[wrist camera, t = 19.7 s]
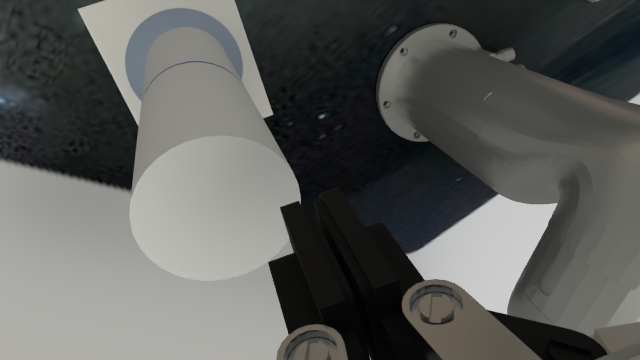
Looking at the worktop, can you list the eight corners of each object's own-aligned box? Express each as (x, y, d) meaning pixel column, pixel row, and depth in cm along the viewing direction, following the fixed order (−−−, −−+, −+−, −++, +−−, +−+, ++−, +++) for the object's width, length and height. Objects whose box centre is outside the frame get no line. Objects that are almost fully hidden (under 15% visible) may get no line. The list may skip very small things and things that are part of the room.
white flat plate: (221, -37, 38) (222, -37, 37) (272, 113, 45) (273, 114, 45) (78, 8, 36) (77, 9, 36) (155, 156, 44) (155, 158, 43)
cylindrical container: (202, 11, 39) (252, 102, 18) (243, 83, 43) (325, 229, 21) (128, 52, 38) (89, 194, 17) (176, 121, 42) (192, 305, 21)
